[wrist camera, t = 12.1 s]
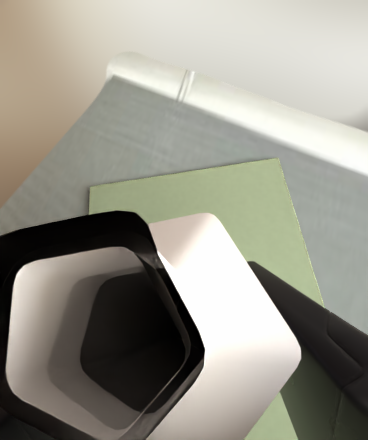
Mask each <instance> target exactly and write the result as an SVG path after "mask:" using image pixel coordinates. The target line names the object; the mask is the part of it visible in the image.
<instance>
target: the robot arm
mask: <svg viewBox="0 0 368 440" xmlns="http://www.w3.org/2000/svg"><path fill="white" fill-rule="evenodd" d="M247 263H248V265H249V267H250V268H251V270H252V271H253V273H254V274H255V276H256V277H257V279H258V280H259V282H260V283H261V285H262V287H263V288H264V290H265V291H266V293H267V294H268V296H269V297H270V299H271V300H272V302H273V303H274V305H275V306H276V308H277V310H278V311H279V313H280V314H281V316H282V317H283V319H284V320H285V322H286V323H287V325H288V326H289V328H290V329H291V331H292V333H293V334H294V336H295V337H296V339H297V341H298V343H299V346H300V348H301V360H300V362H299V364H298V366H297V368H296V370H295V371H294V372H293V374H292V375H291V376H290V378H289V379H288V380H287V382H286V383H285V384H284V386H283V387H282V388H281V390H280V394H281V396H282V399H283V402H284V404H285V407H286V409H287V412H288V415H289V417H290V420H291V422H292V425H293V428H294V430H295V433H296V436H297V438H298V440H368V335H367V334H365V333H363V332H361V331H360V330H358V329H357V328H355V327H354V326H352V325H350V324H349V323H347V322H346V321H344V320H343V319H341V318H339V317H338V316H336V315H335V314H333V313H332V312H331V313H330V311H329V310H327V309H326V308H324V307H323V306H321V305H320V304H318V303H317V302H315V301H314V300H312V299H311V298H309V297H308V296H306V295H305V294H303V293H302V292H300V291H299V290H297V289H296V288H294V287H293V286H291V285H290V284H288V283H287V282H285V281H284V280H282V279H280V278H279V277H277V276H276V275H274V274H273V273H271V272H270V271H268V270H267V269H265V268H264V267H262V266H261V265H259V264H258V263H256V262H255V261H248V262H247ZM0 440H57V439H55V438H53V437H51V436H49V435H47V434H45V433H43V432H41V431H39V430H38V429H36V428H34V427H32V426H30V425H28V424H26V423H24V422H22V421H20V420H18V419H16V418H14V417H13V416H11V415H10V414H9V413H7V412H6V411H5V410H3V409H2V408H1V407H0Z"/></svg>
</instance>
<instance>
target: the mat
mask: <svg viewBox="0 0 368 440" xmlns="http://www.w3.org/2000/svg"><path fill="white" fill-rule="evenodd" d="M115 210H121V211H131V212H136V213H137V214H138V215H139V216H140V217H141V218H142V219H143V220H144V221H145V222H146V223H147V224H150V223H155V222H159V221H164V220H169V219H174V218H179V217H184V216H188V215H193V214H198V213H210V214H213V215H215V216H216V217H217V218H218V219H219V220H220V222H221V224H222V225H223V227H224V228H225V230H226V231H227V233H228V234H229V236H230V237H231V239H232V240H233V242H234V244H235V245H236V247H237V248H238V250H239V251H240V253H241V254H242V256H243V257H244V259H245V260H246V262H248V261H255V262H256V263H258V264H259V265H261V266H262V267H264V268H265V269H267V270H268V271H270V272H271V273H273V274H274V275H276V276H277V277H279V278H280V279H282V280H284V281H285V282H287V283H288V284H290V285H291V286H293V287H294V288H296V289H297V290H299V291H300V292H302V293H303V294H305V295H306V296H308V297H309V298H311V299H312V300H314V301H315V302H317V303H318V304H320V305H321V306H323V307H324V304H323V301H322V297H321V294H320V291H319V288H318V284H317V281H316V278H315V275H314V272H313V268H312V265H311V262H310V259H309V255H308V252H307V249H306V246H305V243H304V239H303V236H302V233H301V230H300V226H299V223H298V220H297V217H296V214H295V210H294V207H293V204H292V201H291V197H290V194H289V191H288V188H287V185H286V181H285V178H284V175H283V172H282V168H281V165H280V162H279V159H278V158H272V159H266V160H259V161H253V162H246V163H240V164H233V165H227V166H220V167H214V168H207V169H201V170H194V171H188V172H181V173H175V174H168V175H162V176H155V177H149V178H142V179H136V180H130V181H123V182H117V183H110V184H104V185H97V186H91V187H90V198H89V215H90V214H95V213H102V212H109V211H115ZM324 308H325V307H324ZM244 440H298V438H297V436H296V433H295V430H294V428H293V425H292V422H291V420H290V417H289V415H288V412H287V409H286V407H285V404H284V402H283V399H282V396H281V394H280V391H279V393H278V394H277V395H276V397H275V398H274V399H273V401H272V402H271V403H270V405H269V406H268V407H267V409H266V410H265V411H264V413H263V414H262V416H261V417H260V418H259V420H258V421H257V422H256V424H255V425H254V426H253V428H252V429H251V430H250V432H249V433H248V434H247V436H246V437H245V439H244Z"/></svg>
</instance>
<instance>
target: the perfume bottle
mask: <svg viewBox="0 0 368 440" xmlns="http://www.w3.org/2000/svg"><path fill="white" fill-rule="evenodd" d="M300 360H301V348H300V346H299V343H298V341H297V339H296V337H295V336H294V334H293V333H292V331H291V329H290V328H289V326H288V325H287V323H286V322H285V320H284V319H283V317H282V316H281V314H280V313H279V311H278V310H277V308H276V306H275V305H274V303H273V302H272V300H271V299H270V297H269V296H268V294H267V293H266V291H265V290H264V288H263V287H262V285H261V283H260V282H259V280H258V279H257V277H256V276H255V274H254V273H253V271H252V270H251V268H250V267H249V265H248V263H247V262H246V260H245V259H244V257H243V256H242V254H241V253H240V251H239V250H238V248H237V247H236V245H235V244H234V242H233V240H232V239H231V237H230V236H229V234H228V233H227V231H226V230H225V228H224V227H223V225H222V224H221V222H220V220H219V219H218V218H217V217H216V216H215V215H213V214H210V213H198V214H193V215H188V216H184V217H179V218H174V219H169V220H164V221H159V222H155V223H150V224H147V223H146V222H145V221H144V220H143V219H142V218H141V217H140V216H139V215H138V214H137V213H136V212H131V211H121V210H115V211H109V212H102V213H95V214H90V215H85V216H81V217H76V218H71V219H66V220H62V221H57V222H52V223H47V224H43V225H38V226H33V227H28V228H24V229H19V230H14V231H12V232H9V233H6V234H4V235H1V236H0V407H1V408H2V409H3V410H5V411H6V412H7V413H9V414H10V415H11V416H13V417H14V418H16V419H18V420H20V421H22V422H24V423H26V424H28V425H30V426H32V427H34V428H36V429H38V430H39V431H41V432H43V433H45V434H47V435H49V436H51V437H53V438H55V439H57V440H244V439H245V437H246V436H247V434H248V433H249V432H250V430H251V429H252V428H253V426H254V425H255V424H256V422H257V421H258V420H259V418H260V417H261V416H262V414H263V413H264V411H265V410H266V409H267V407H268V406H269V405H270V403H271V402H272V401H273V399H274V398H275V397H276V395H277V394H278V393H279V391H280V390H281V388H282V387H283V386H284V384H285V383H286V382H287V380H288V379H289V378H290V376H291V375H292V374H293V372H294V371H295V370H296V368H297V366H298V364H299V362H300Z"/></svg>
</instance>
